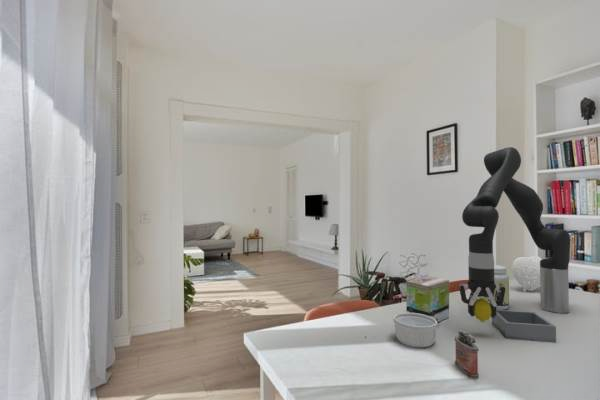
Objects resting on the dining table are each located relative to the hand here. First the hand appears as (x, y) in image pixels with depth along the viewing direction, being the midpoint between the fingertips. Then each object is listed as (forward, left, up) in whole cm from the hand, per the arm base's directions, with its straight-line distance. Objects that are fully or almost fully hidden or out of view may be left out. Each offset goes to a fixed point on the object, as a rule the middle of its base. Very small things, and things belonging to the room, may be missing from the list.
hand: (482, 316), depth 109 cm
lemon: (0, 0, -2) cm, 2 cm away
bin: (-6, +14, -6) cm, 16 cm away
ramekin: (+9, -22, -7) cm, 25 cm away
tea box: (-13, -15, -7) cm, 21 cm away
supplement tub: (-35, +14, -7) cm, 38 cm away
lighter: (+26, -11, -7) cm, 29 cm away
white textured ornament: (-66, +40, -7) cm, 77 cm away
